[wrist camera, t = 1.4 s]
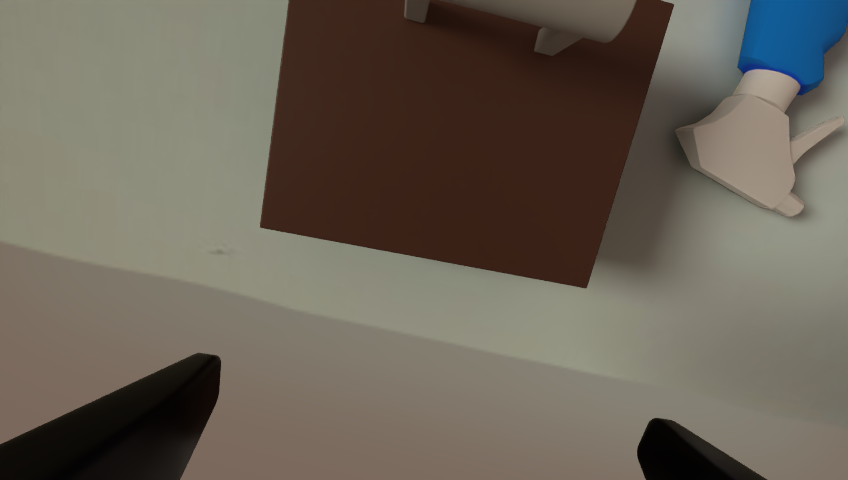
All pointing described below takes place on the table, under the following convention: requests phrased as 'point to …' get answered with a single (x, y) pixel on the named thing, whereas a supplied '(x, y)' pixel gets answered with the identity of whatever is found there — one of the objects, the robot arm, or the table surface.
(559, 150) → the lid
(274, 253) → the table surface
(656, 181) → the table surface
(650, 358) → the table surface
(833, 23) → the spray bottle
